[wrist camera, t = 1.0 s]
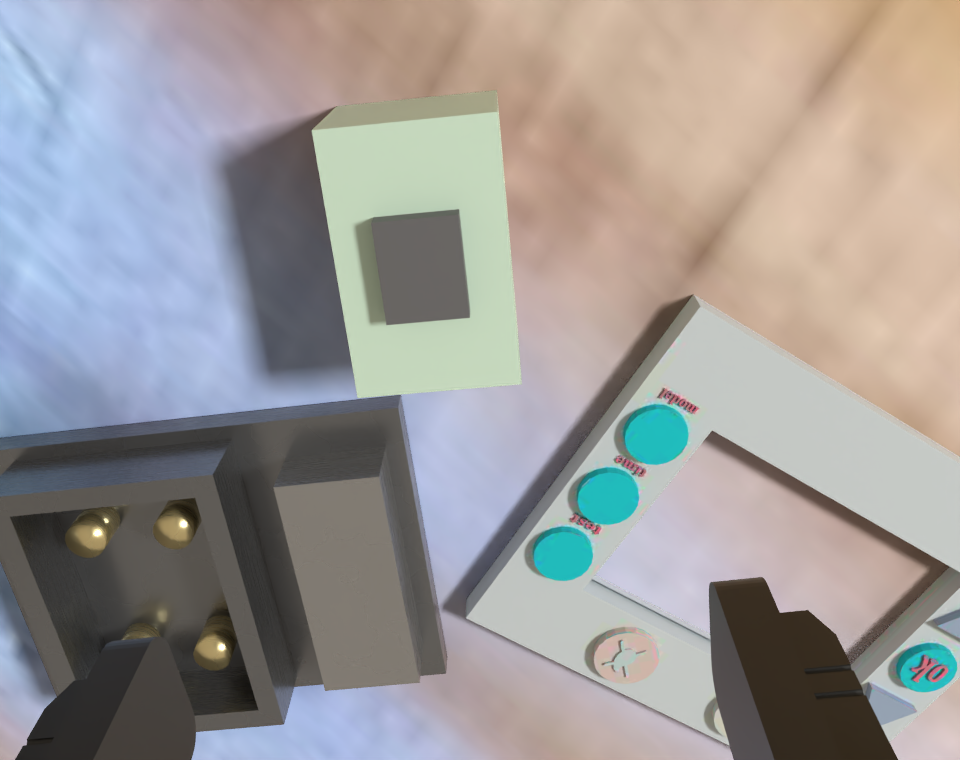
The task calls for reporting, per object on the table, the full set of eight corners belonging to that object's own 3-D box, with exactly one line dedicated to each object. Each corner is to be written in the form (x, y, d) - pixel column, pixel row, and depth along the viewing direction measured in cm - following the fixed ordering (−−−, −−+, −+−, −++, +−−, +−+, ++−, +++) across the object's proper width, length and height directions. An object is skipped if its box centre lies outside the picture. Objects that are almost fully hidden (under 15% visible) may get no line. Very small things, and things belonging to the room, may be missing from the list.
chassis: (-30, 441, 33) (-85, 492, 30) (400, 395, 32) (390, 442, 29) (71, 689, 38) (33, 755, 35) (447, 656, 37) (443, 721, 34)
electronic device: (1107, 555, 33) (835, 804, 39) (1071, 520, 35) (818, 761, 41) (703, 310, 29) (465, 626, 35) (689, 287, 31) (466, 588, 37)
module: (337, 105, 28) (307, 134, 24) (496, 89, 28) (497, 115, 23) (374, 341, 32) (354, 406, 27) (517, 328, 31) (522, 392, 27)
